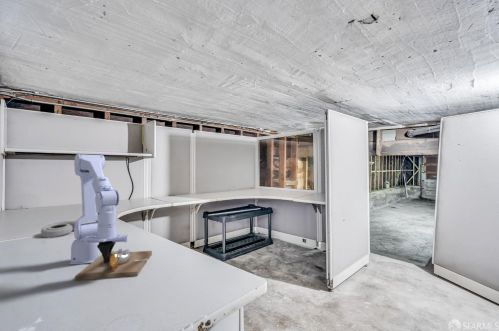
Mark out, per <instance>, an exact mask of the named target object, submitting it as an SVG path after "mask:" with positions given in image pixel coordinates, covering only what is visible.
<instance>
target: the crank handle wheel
mask: <svg viewBox="0 0 499 331" xmlns="http://www.w3.org/2000/svg"><path fill="white" fill-rule="evenodd" d="M130 252H131V251H130V249H129V248H128V249H125V250H123V249H122V248H118V250H117V251H114V250H112V251H111V254H109V262H108V263H107V264H108V265H109V269H110V270H114V269H117V268H118V265H120V264H124V263H126V262H128V261H129V260H130Z"/></svg>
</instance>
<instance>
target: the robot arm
mask: <svg viewBox="0 0 499 331" xmlns="http://www.w3.org/2000/svg"><path fill="white" fill-rule="evenodd" d="M105 165H106V159H105V156H104V154H80V153H76V154H75V156H74V165H73V166H74V173H75V175H76V176H79V178H80V185H81V186H80V187H81V205H82V206H81V211H82V215H81V216H80V217H79V218H77V219H76V220H75V221H76V222H75V227H74V231H73V236H74V239H75V240H73V241H72V243H71V246H70V263H69V265H83V264H91V263H92V262H93V261H94V260H96V259H97V258H98V257H99V256H101V255H102V256H103V259H104V260H103V261H104V264H107V263H108V262H109V254H111V251H113V249H114V246H115V245H116V243H128V242H129V241H130V235H129V234H128V235H126V234H117V206H118V205H119V203H120V193H119V191H118V190H117V189H116V188H113V186H112V184H111V182H110V179H109V178H108V177H107V176H105V175H104V168H105Z"/></svg>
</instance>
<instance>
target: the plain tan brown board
mask: <svg viewBox="0 0 499 331" xmlns="http://www.w3.org/2000/svg"><path fill="white" fill-rule="evenodd" d="M129 252H130V260H129V261H128V262H126V263H124V264H120V265H118V268H117V269H114V270H110V269H109V265H108V264H104V261H103V260H104V259H103V256H102V254H100V255H101V256H99V257H98V258H97V259H96V260H94V261H93V262H92V263H88V265H87V266H86V267H84V268H83V269H82V270H81V271H80V272H77V274H76V275H75V276H74V281H87V280H99V279H100V280H102V279H117V278H124V277H125V278H127V277H128V278H129V277H138V276H139V274H140V273H141V272H142V269H143V268H144V267H145V265H146V263H147V262H148V261H149V260H150V258H151V256H152V254H153V251H152V250H142V251H140V250H139V251H129Z"/></svg>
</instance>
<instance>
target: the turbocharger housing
mask: <svg viewBox="0 0 499 331" xmlns="http://www.w3.org/2000/svg"><path fill="white" fill-rule="evenodd" d="M75 222H76V220H65V221H59V222H53V223H51V224H48V225H45V226H43V227H42V228H41V230H40V233H41V234H40V235H41V237H42V238H45V237H51V238H57V237H62V236H66V235H69V234H70V233H71V232H74V227H75Z"/></svg>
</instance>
